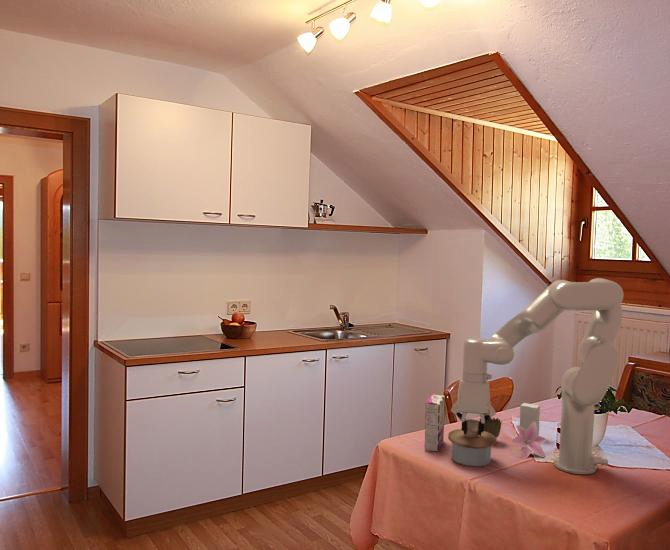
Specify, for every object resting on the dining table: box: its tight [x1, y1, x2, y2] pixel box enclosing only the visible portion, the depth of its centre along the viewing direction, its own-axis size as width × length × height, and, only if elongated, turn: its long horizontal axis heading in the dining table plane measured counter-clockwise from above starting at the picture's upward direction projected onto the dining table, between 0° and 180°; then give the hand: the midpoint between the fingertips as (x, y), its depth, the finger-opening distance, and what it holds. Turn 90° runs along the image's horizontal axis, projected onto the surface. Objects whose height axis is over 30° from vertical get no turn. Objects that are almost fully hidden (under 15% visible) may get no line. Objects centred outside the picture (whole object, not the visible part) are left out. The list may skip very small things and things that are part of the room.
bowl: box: [451, 442, 492, 468], centre depth 200 cm, size 12×12×6 cm
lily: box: [510, 422, 547, 459], centre depth 207 cm, size 12×12×10 cm
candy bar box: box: [424, 394, 446, 453], centre depth 211 cm, size 11×5×16 cm, turn 161°
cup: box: [479, 417, 503, 439], centre depth 217 cm, size 8×7×8 cm
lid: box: [447, 418, 497, 448], centre depth 199 cm, size 15×15×6 cm
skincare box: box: [519, 402, 541, 436], centre depth 222 cm, size 6×4×12 cm
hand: (472, 433), depth 199 cm, fingers closed on lid, 4 cm apart
